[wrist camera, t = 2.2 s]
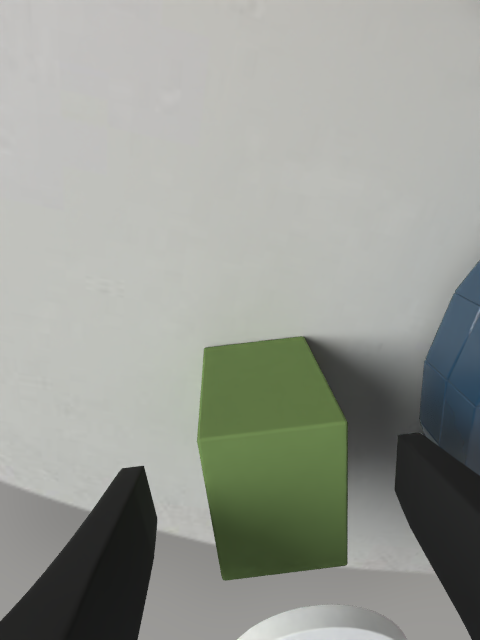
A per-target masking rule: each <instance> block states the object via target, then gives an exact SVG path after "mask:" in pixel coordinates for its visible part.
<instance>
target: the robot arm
mask: <svg viewBox="0 0 480 640" xmlns="http://www.w3.org/2000/svg"><path fill="white" fill-rule="evenodd" d="M395 492H396V495H397V497H398V500H399V502H400V505H401V507H402V509H403V512H404V514H405V516H406V519H407V521H408V523H409V526H410V528H411V529H412V531H413V533H414V535H415V537H416V539H417V540H418V542H419V544H420V546H421V548H422V549H423V551H424V553H425V555H426V557H427V558H428V560H429V562H430V564H431V565H432V567H433V569H434V571H435V573H436V574H437V576H438V578H439V580H440V581H441V583H442V585H443V587H444V589H445V590H446V592H447V594H448V596H449V597H450V599H451V601H452V603H453V605H454V606H455V608H456V610H457V612H458V613H459V615H460V617H461V619H462V621H463V623H464V625H465V627H466V629H467V631H468V633H469V635H470V636H471V639H472V640H480V475H478V474H477V473H475V472H474V471H472V470H471V469H470V468H468V467H467V466H465V465H464V464H463V463H461V462H460V461H458V460H457V459H456V458H454V457H453V456H452V455H450V454H449V453H447V452H446V451H445V450H443V449H442V448H441V447H439V446H438V445H437V444H435V443H434V442H432V441H431V440H430V439H428V438H427V437H425V436H424V435H423V434H421V433H412V434H403V435H398V446H397V461H396V477H395ZM156 530H157V516H156V512H155V508H154V504H153V500H152V496H151V492H150V488H149V484H148V480H147V476H146V473H145V469H144V466H138V467H130V468H122V469H121V470H120V472H119V473H118V474H117V476H116V477H115V479H114V480H113V481H112V483H111V484H110V486H109V487H108V489H107V490H106V492H105V493H104V494H103V496H102V497H101V499H100V500H99V502H98V503H97V504H96V506H95V507H94V509H93V510H92V511H91V513H90V514H89V515H88V517H87V518H86V520H85V521H84V522H83V524H82V525H81V526H80V528H79V529H78V530H77V532H76V533H75V535H74V536H73V537H72V538H71V540H70V541H69V542H68V543H67V545H66V546H65V547H64V549H63V550H62V551H61V553H59V555H58V556H57V557H56V559H55V560H54V561H53V562H52V563H51V565H50V566H49V567H48V568H47V570H46V571H45V572H44V573H43V574H42V576H41V577H40V578H39V579H38V580H37V581H36V583H35V584H34V585H33V586H32V587H31V588H30V590H29V591H28V592H27V593H26V594H25V595H24V596H23V597H22V599H21V600H20V601H19V602H18V603H17V604H16V605H15V606H14V607H13V608H12V610H11V611H10V612H9V613H8V614H7V615H6V616H5V617H4V618H3V619H2V620H1V621H0V640H137V639H138V634H139V629H140V624H141V620H142V615H143V610H144V605H145V600H146V595H147V590H148V585H149V580H150V575H151V570H152V565H153V559H154V550H155V541H156Z"/></svg>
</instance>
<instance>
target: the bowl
mask: <svg viewBox="0 0 480 640" xmlns="http://www.w3.org/2000/svg"><path fill="white" fill-rule="evenodd" d="M419 419H420V423H421V426H422V429H423V432H424V436H425V437H427V438H428V439H430V440H431V441H432V442H434V443H435V444H437V445H438V446H439V447H441V448H442V449H443V450H445V451H446V452H447V453H449V454H450V455H452V456H453V457H454V458H456V459H457V460H458V461H460V462H461V463H463V464H464V465H465V466H467V467H468V468H470V469H471V470H472V471H474V472H475V473H477V474H478V475H480V260H479V262H478V263H477V264H476V265H475V267H474V268H473V269H472V270H471V272H470V273H469V274H468V275H467V277H466V278H465V279H464V280H463V282H462V283H461V284H460V285H459V287H458V288H457V289H456V290H455V293H454V294H453V296H452V299H451V301H450V303H449V305H448V308H447V310H446V312H445V315H444V317H443V319H442V322H441V324H440V326H439V329H438V331H437V333H436V335H435V338H434V340H433V342H432V345H431V347H430V349H429V352H428V354H427V356H426V360H425V361H424V371H423V383H422V394H421V406H420V417H419Z"/></svg>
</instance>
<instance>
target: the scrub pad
mask: <svg viewBox="0 0 480 640" xmlns="http://www.w3.org/2000/svg"><path fill="white" fill-rule="evenodd" d="M197 443H198V448H199V454H200V459H201V465H202V470H203V476H204V481H205V487H206V492H207V498H208V503H209V509H210V514H211V520H212V526H213V531H214V537H215V542H216V547H217V553H218V559H219V564H220V570H221V575H222V578H223V580H233V579H241V578H249V577H258V576H265V575H274V574H282V573H289V572H298V571H306V570H314V569H321V568H330V567H338V566H345V565H347V508H348V422H347V420H346V418H345V416H344V414H343V412H342V410H341V408H340V407H339V405H338V403H337V401H336V399H335V397H334V395H333V393H332V391H331V389H330V387H329V385H328V383H327V381H326V379H325V377H324V375H323V373H322V371H321V369H320V367H319V365H318V363H317V361H316V359H315V357H314V355H313V353H312V351H311V349H310V348H309V346H308V344H307V342H306V340H305V338H304V337H293V338H285V339H276V340H268V341H259V342H251V343H242V344H234V345H225V346H216V347H208V348H205V349H204V358H203V371H202V384H201V397H200V410H199V423H198V437H197Z"/></svg>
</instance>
